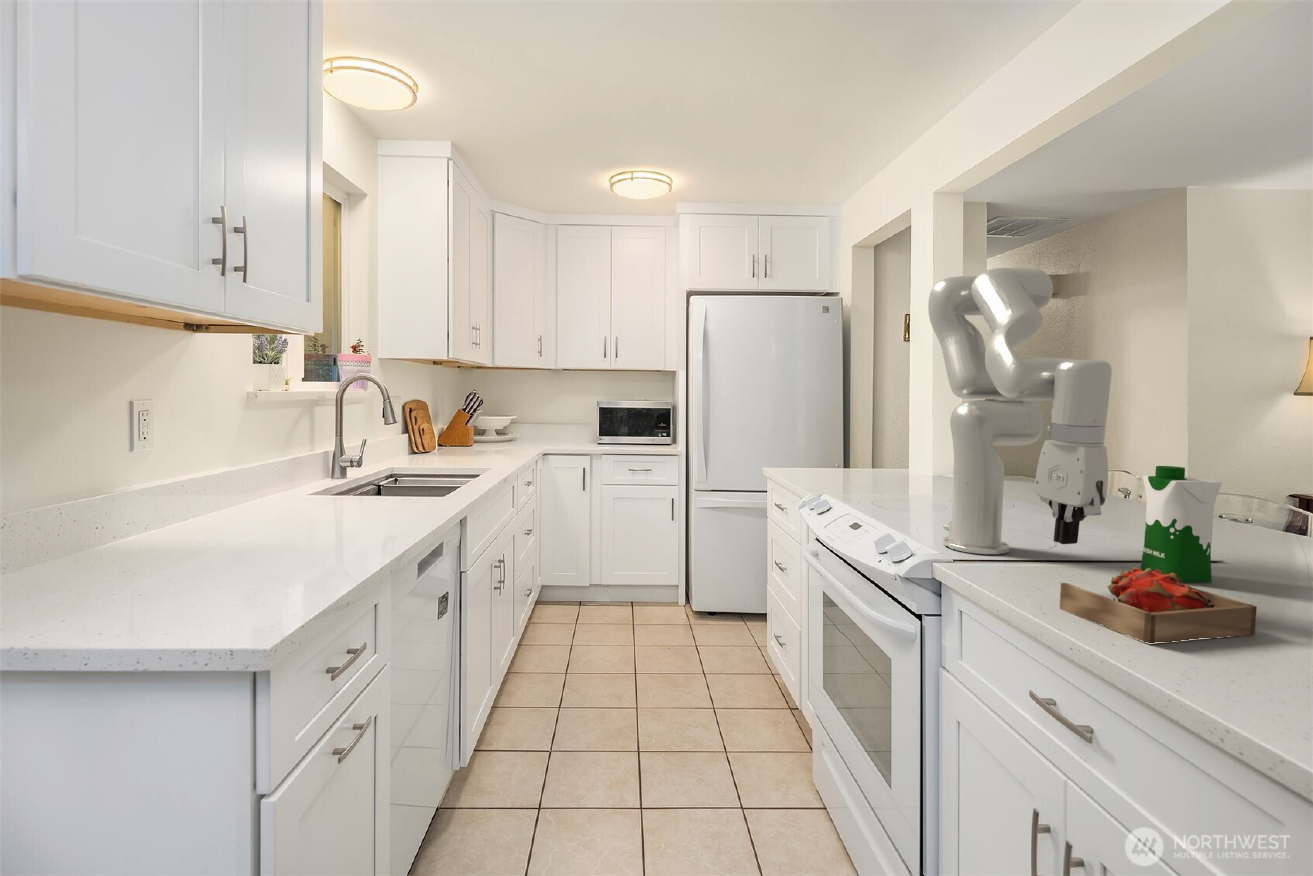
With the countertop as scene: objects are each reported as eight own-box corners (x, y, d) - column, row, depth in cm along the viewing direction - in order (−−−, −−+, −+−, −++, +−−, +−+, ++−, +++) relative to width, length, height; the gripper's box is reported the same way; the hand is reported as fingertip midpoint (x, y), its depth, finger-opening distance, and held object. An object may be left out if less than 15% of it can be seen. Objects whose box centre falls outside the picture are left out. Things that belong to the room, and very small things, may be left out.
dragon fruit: (1097, 621, 92) (1200, 651, 85) (1107, 602, 85) (1219, 634, 79) (1107, 570, 95) (1207, 596, 88) (1117, 549, 88) (1226, 575, 82)
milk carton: (1131, 569, 114) (1137, 464, 112) (1180, 570, 113) (1187, 464, 112) (1169, 584, 105) (1177, 470, 103) (1222, 584, 105) (1231, 470, 103)
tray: (1059, 608, 92) (1061, 583, 92) (1153, 601, 96) (1155, 576, 96) (1149, 645, 79) (1151, 615, 79) (1254, 635, 82) (1256, 606, 82)
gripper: (1021, 429, 106) (1012, 531, 108) (1098, 442, 91) (1085, 558, 94) (1057, 429, 107) (1047, 528, 110) (1139, 441, 93) (1125, 555, 95)
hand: (1065, 542), depth 102 cm, fingers closed
